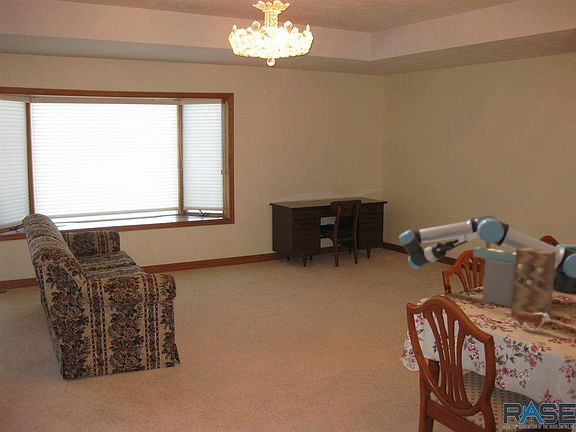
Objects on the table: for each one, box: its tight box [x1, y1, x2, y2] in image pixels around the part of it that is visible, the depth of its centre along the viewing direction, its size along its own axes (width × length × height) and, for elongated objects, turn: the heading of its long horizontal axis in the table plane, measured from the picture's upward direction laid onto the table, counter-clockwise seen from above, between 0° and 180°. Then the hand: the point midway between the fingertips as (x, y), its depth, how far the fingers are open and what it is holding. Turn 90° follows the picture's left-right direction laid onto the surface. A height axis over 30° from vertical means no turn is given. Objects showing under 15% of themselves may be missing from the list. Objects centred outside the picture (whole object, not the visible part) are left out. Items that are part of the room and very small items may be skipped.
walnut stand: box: [510, 247, 556, 326], centre depth 262 cm, size 14×8×30 cm, turn 48°
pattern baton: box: [472, 246, 516, 264], centre depth 287 cm, size 24×4×4 cm, turn 48°
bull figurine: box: [515, 311, 551, 333], centre depth 250 cm, size 4×13×8 cm, turn 58°
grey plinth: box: [482, 258, 515, 308], centre depth 288 cm, size 13×8×20 cm, turn 48°
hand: (471, 235), depth 295 cm, fingers open, 13 cm apart
